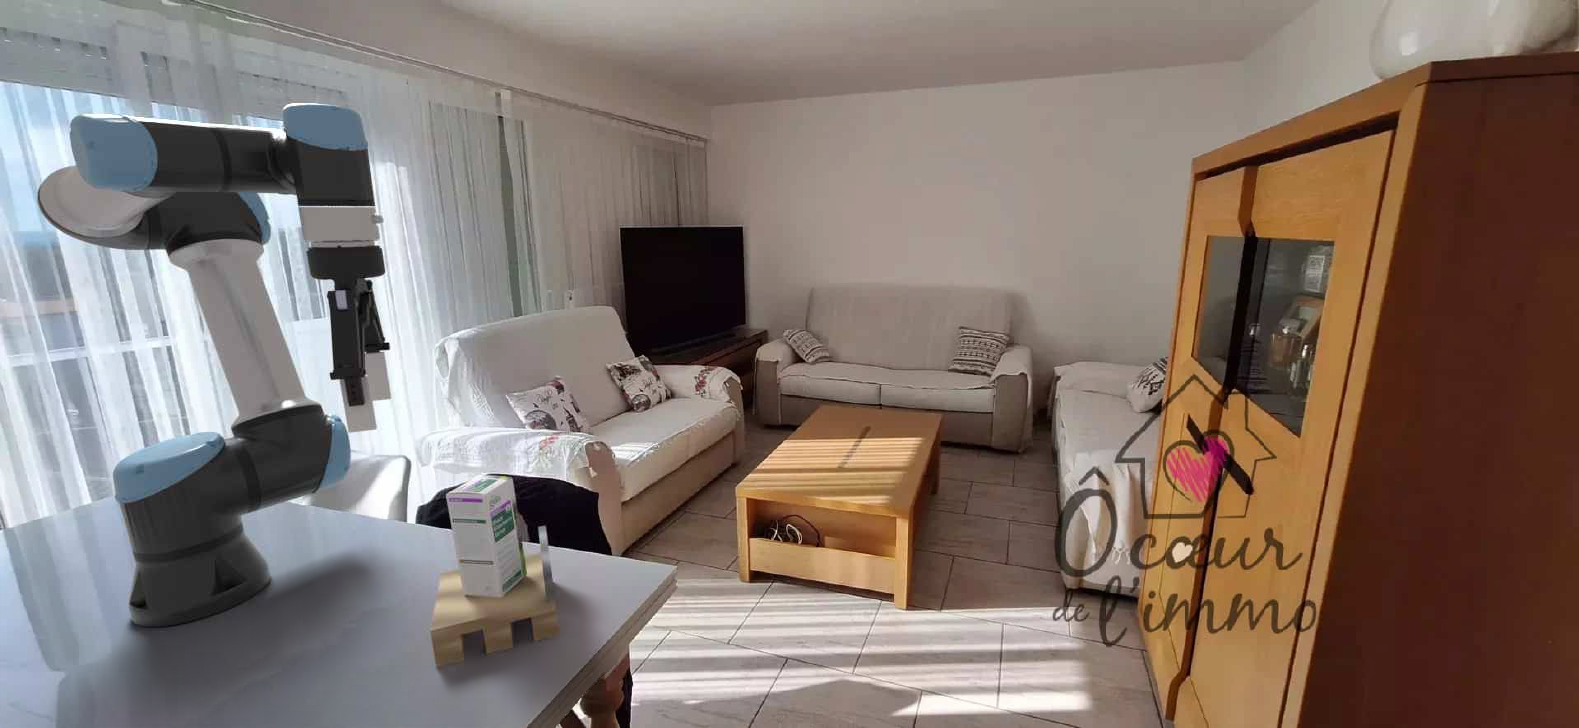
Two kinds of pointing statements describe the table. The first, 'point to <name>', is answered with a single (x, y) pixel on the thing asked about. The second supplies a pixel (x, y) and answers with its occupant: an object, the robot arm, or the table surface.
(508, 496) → the syrup box
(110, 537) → the table surface
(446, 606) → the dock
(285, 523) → the table surface
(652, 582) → the table surface
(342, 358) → the robot arm
